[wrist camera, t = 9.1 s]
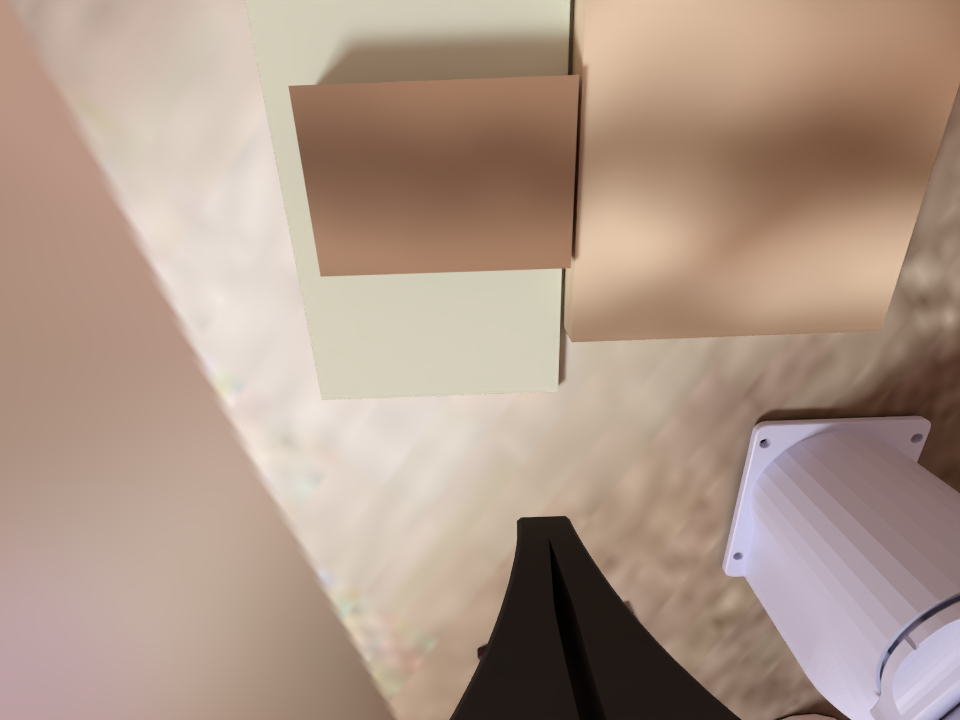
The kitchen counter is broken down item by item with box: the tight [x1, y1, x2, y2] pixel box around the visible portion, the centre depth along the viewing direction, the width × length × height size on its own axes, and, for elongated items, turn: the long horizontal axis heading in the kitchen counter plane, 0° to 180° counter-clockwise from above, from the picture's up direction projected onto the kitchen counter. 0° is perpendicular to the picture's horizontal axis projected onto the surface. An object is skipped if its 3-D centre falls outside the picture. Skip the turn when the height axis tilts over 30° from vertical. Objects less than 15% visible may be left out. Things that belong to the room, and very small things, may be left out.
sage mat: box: [245, 0, 570, 400], centre depth 18 cm, size 18×11×1 cm, turn 2°
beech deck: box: [563, 0, 960, 342], centre depth 17 cm, size 12×12×2 cm
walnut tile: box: [288, 75, 579, 277], centre depth 17 cm, size 6×9×2 cm, turn 92°
